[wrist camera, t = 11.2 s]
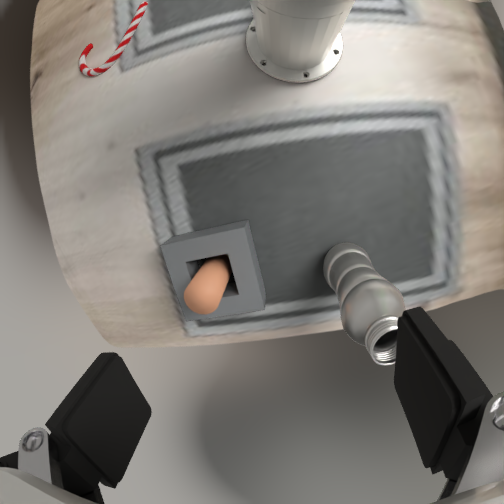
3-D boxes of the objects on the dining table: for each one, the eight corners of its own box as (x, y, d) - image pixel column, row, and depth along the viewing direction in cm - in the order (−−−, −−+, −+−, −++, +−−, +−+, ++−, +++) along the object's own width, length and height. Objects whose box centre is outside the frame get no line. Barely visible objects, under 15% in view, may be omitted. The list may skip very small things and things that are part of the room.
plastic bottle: (325, 288, 40) (355, 387, 21) (316, 243, 38) (348, 323, 19) (368, 277, 39) (424, 366, 20) (361, 232, 37) (428, 300, 18)
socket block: (172, 236, 40) (160, 245, 35) (248, 219, 38) (244, 227, 34) (194, 305, 43) (186, 321, 38) (266, 294, 41) (264, 309, 37)
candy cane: (158, 6, 28) (96, 83, 32) (161, 9, 29) (101, 85, 34) (127, -7, 27) (71, 66, 31) (130, -3, 28) (75, 67, 33)
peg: (201, 255, 40) (179, 284, 31) (229, 250, 39) (213, 278, 30) (209, 281, 41) (190, 316, 32) (236, 276, 41) (223, 311, 31)
